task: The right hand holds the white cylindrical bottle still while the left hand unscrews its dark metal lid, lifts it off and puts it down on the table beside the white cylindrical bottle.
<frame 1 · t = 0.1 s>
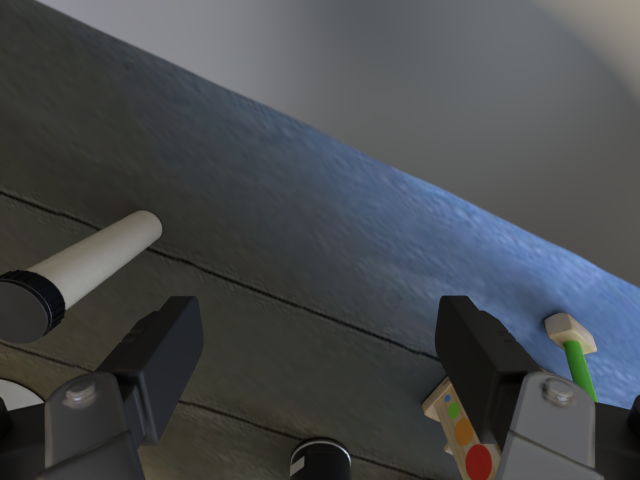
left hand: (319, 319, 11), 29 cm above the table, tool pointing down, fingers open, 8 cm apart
lid: (14, 311, 24), point 19 cm above the table, screwed on, not yet turned
white cylindrical bottle: (145, 226, 41), on the table
pounding bench toy: (507, 371, 48), on the table
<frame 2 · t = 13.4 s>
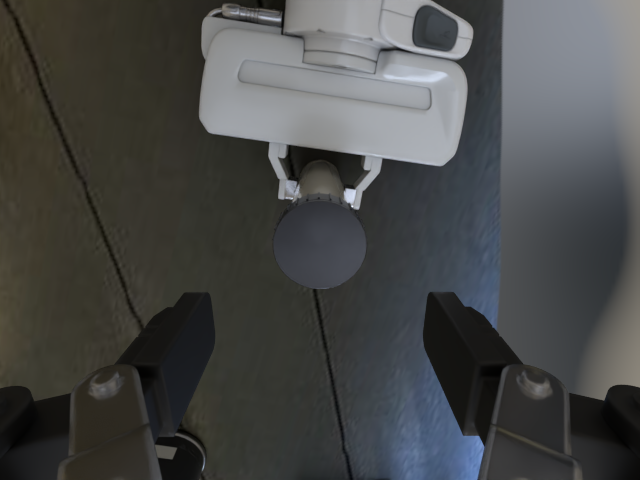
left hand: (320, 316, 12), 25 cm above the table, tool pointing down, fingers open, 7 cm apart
right hand: (319, 203, 30), fingers closed on white cylindrical bottle, 4 cm apart
lid: (319, 244, 18), point 19 cm above the table, screwed on, not yet turned
white cylindrical bottle: (320, 179, 35), on the table, touching right hand
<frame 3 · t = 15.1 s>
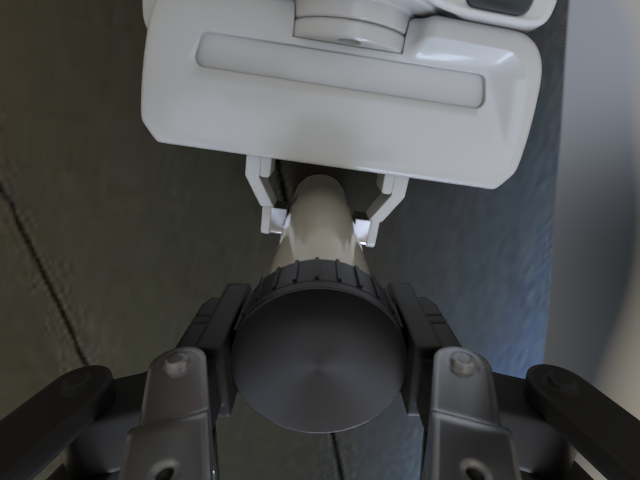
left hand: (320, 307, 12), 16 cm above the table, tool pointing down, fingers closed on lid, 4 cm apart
right hand: (318, 237, 22), fingers closed on white cylindrical bottle, 4 cm apart
lid: (319, 358, 10), point 19 cm above the table, screwed on, not yet turned, touching left hand
white cylindrical bottle: (319, 200, 27), on the table, touching right hand
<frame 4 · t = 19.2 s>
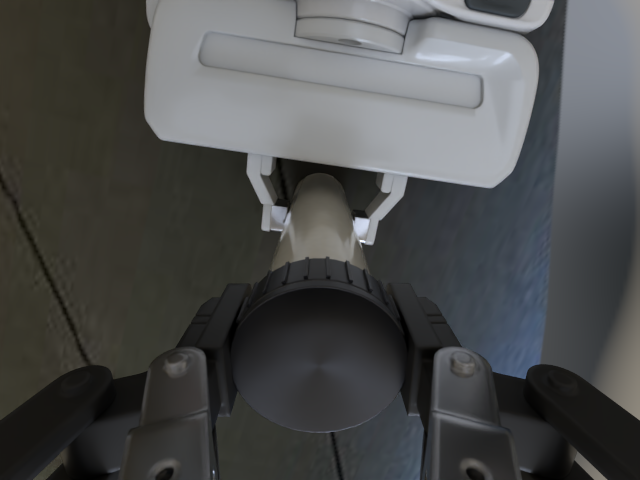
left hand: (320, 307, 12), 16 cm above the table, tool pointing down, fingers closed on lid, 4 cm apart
right hand: (318, 235, 22), fingers closed on white cylindrical bottle, 4 cm apart
lid: (318, 357, 10), point 19 cm above the table, turned 104° so far, risen 0.3 cm, still on its thread, touching left hand
white cylindrical bottle: (319, 198, 27), on the table, touching right hand
when the left hand's fingers open (0 cm above the table, at t = 25.8 s): lid drops 2 cm, point 1 cm above the table.
when the right hand's fingers open (6 cm above the table, at t = 26.8 s): white cylindrical bottle stays where it is, on the table.
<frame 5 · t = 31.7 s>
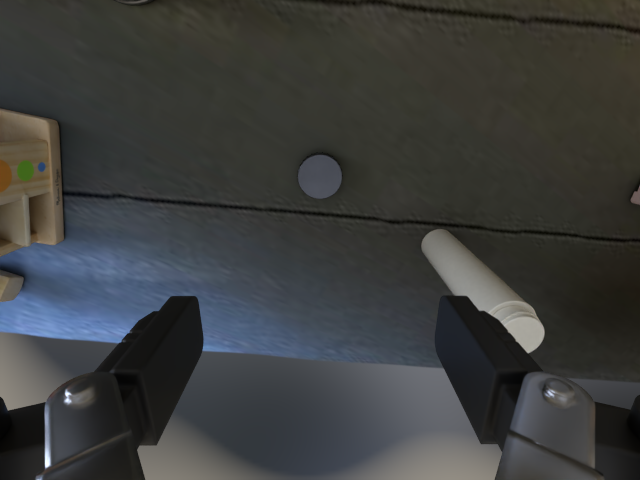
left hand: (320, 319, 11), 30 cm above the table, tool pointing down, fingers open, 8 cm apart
lid: (320, 176, 38), point 1 cm above the table, off its thread
white cylindrical bottle: (437, 244, 42), on the table
pounding bench toy: (3, 206, 40), on the table
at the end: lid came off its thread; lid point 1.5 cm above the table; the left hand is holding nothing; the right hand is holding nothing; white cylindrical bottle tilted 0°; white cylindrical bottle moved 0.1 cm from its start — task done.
